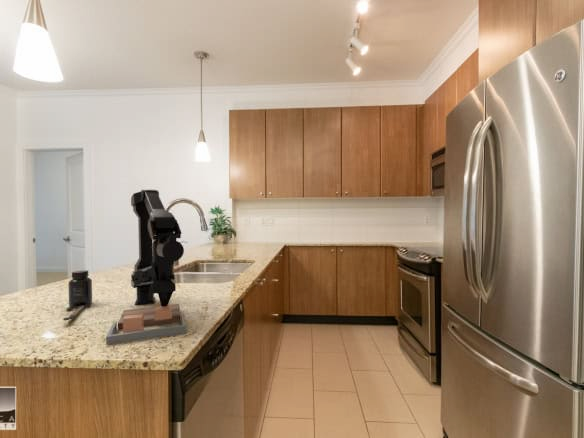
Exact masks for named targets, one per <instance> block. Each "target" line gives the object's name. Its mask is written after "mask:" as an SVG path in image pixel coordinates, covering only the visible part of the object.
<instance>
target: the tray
mask: <svg viewBox="0 0 584 438" xmlns="http://www.w3.org/2000/svg"><path fill="white" fill-rule="evenodd" d="M180 323H181V324H179V325H172V326H166V327H160V328H159V327H157V328H152V329H151V328H150V329H145V330H143V331H136V332H129V333H123V332H122V333H117V331H118V322H116V321H115V322H113V323H112V324H111V326H110V328H109V330H108V332H107V334H106V336H105V344H106V346H107V345H108V346H110V345H116V344H122V343H123V344H124V343H128V342H133V341H134V342H135V341H142V340H150V339H156V338H162V337H169V336H177V335H183V334H186V333H187V324H186V318H185V313H180Z"/></svg>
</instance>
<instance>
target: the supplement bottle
mask: <svg viewBox="0 0 584 438" xmlns="http://www.w3.org/2000/svg"><path fill="white" fill-rule="evenodd" d="M71 278H72V279H70V280H68V281H69V282H68V284H67V285H68V306H69V307H74V306H82V305H88V304H91V305H92V304H93V280H92V278H90V277H89V270H86V269H85V270H76V271H72V272H71Z"/></svg>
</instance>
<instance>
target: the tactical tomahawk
mask: <svg viewBox="0 0 584 438" xmlns="http://www.w3.org/2000/svg"><path fill="white" fill-rule="evenodd" d="M91 306H92V303H91V304H88V305H82V306H74V307H70V306H69V307H67V308H66V310H67V311H69V310H74V309H75V310H74V311H73V312H72V313H70V315H68V317H63V319H62V320H63V321H69V320H73V319H75V318H76V317H77V316H78V315H79V314H80V313H81V312H82V311H83V310H84V309H85V308H86V307H88V308H89V307H91Z"/></svg>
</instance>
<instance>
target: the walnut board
mask: <svg viewBox="0 0 584 438" xmlns="http://www.w3.org/2000/svg"><path fill="white" fill-rule="evenodd" d="M169 305H170V304H168V306H169ZM171 305H172V318H171V319H164V320H156V321H155V307H161V305H160V306H159V305H157V306H150V307H149V306H148V307H142V308H139V307H138V308H134V309H133V308H132V309H123V310H122V311H123V312H122V313H121V316H120V318H119V320H118V322H117V331H120V330H123V318H124V317H125V316H128V315H138V314H144V327H150V326H158V325H159V326H160V325H166V324H172V323H173V324H174V323H181V311H180V309H181V308H180V303H176V304H171Z"/></svg>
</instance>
